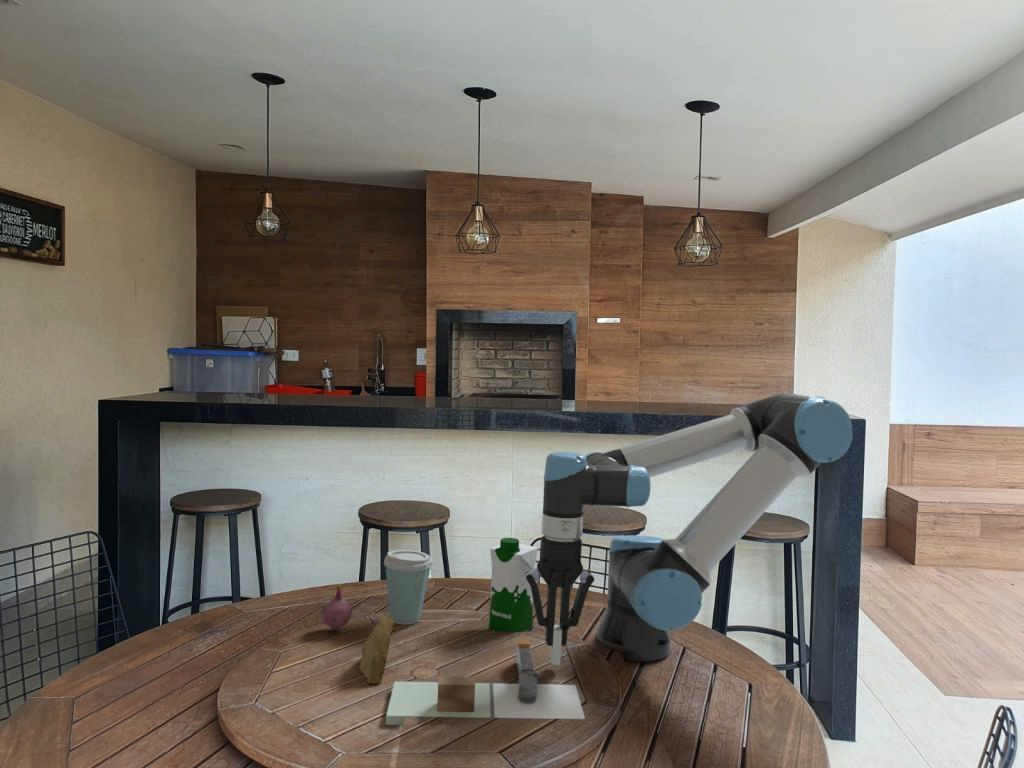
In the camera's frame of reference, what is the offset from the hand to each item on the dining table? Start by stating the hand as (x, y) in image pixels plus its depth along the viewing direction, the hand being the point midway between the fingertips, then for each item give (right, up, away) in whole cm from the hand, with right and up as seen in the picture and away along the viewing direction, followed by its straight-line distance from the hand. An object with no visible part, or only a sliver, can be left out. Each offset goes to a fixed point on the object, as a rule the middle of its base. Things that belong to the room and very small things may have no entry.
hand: (555, 661), depth 137 cm
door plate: (-12, -3, -12) cm, 18 cm away
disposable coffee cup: (-31, -1, +26) cm, 40 cm away
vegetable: (-45, 0, +18) cm, 48 cm away
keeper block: (-17, -2, -16) cm, 23 cm away
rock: (-34, -2, 0) cm, 34 cm away
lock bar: (-6, -1, -6) cm, 8 cm away
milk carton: (-8, -2, +23) cm, 24 cm away
